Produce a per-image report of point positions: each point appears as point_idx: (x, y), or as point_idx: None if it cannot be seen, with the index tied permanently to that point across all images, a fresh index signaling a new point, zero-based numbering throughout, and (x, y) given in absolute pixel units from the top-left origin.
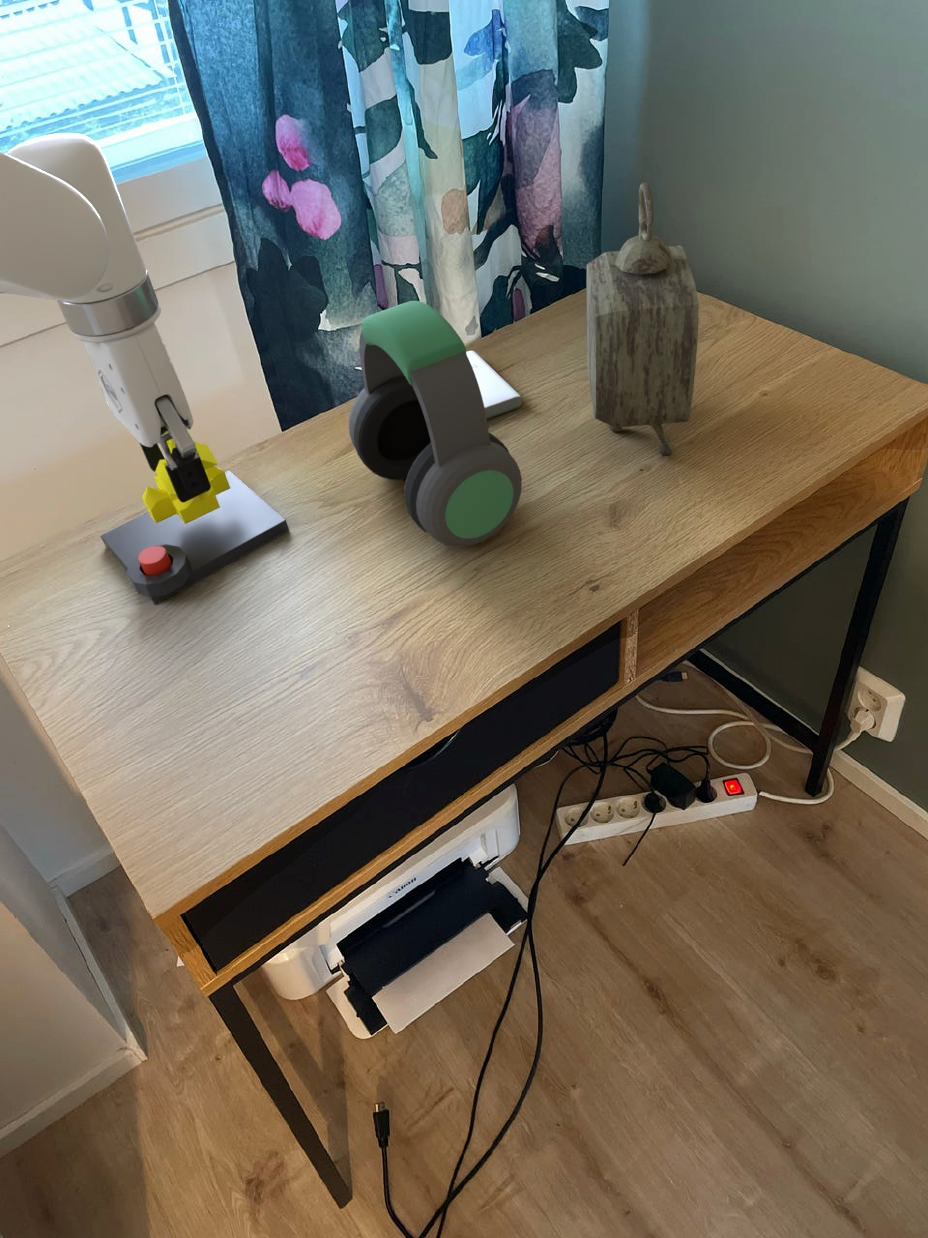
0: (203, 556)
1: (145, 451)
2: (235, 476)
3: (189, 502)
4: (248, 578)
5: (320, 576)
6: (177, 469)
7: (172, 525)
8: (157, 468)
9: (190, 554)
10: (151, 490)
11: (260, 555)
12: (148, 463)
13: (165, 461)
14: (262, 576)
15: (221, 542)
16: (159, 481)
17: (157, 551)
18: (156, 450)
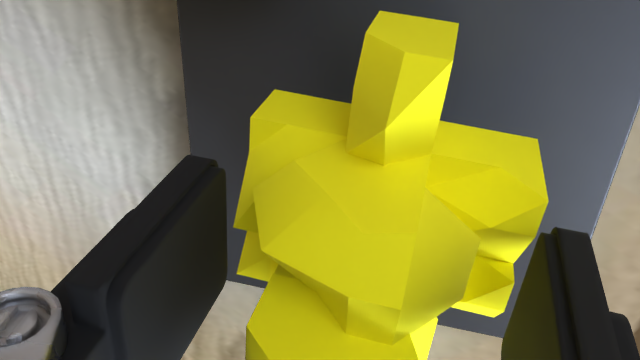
0: (215, 38)
1: (573, 324)
2: (501, 336)
3: (249, 175)
4: (114, 74)
5: (23, 184)
6: (64, 303)
7: (469, 66)
8: (402, 252)
9: (261, 14)
10: (374, 120)
11: (180, 152)
12: (589, 255)
13: (371, 312)
14: (100, 103)
15: (241, 118)
16: (510, 192)
17: None
18: (535, 354)
